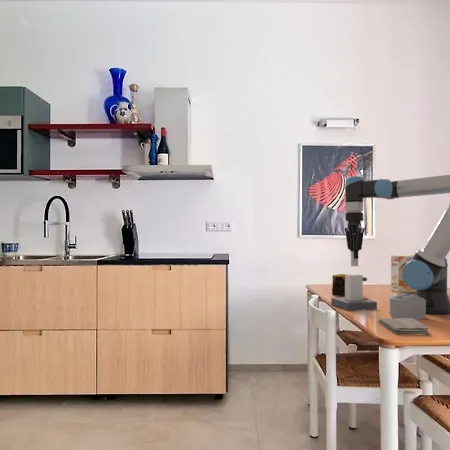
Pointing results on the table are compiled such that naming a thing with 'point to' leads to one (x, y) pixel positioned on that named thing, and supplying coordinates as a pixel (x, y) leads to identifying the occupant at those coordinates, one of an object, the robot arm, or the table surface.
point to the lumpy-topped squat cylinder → (407, 306)
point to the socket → (353, 304)
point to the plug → (354, 287)
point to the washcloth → (404, 326)
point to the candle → (338, 284)
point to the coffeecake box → (399, 273)
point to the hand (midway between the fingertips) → (354, 266)
